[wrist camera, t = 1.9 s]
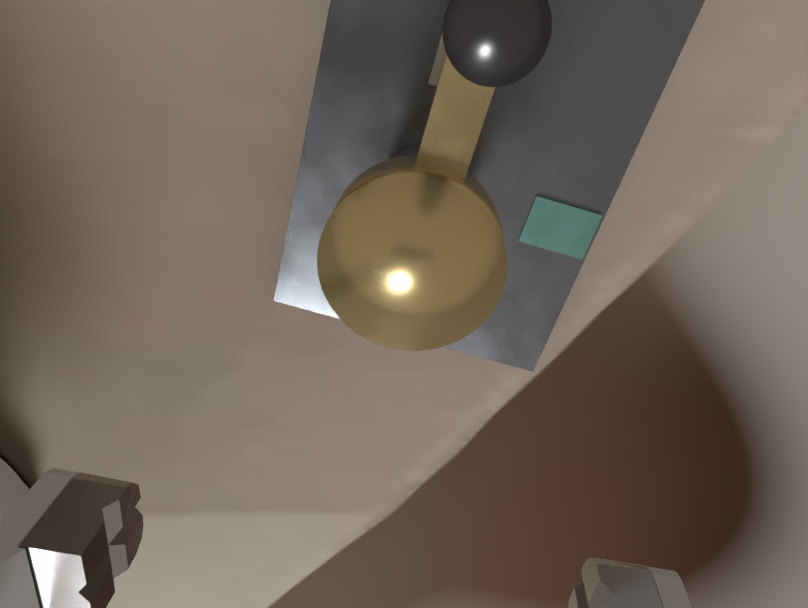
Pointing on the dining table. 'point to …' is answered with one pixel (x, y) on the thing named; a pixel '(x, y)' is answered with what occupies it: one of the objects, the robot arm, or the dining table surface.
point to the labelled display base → (489, 141)
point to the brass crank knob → (434, 197)
